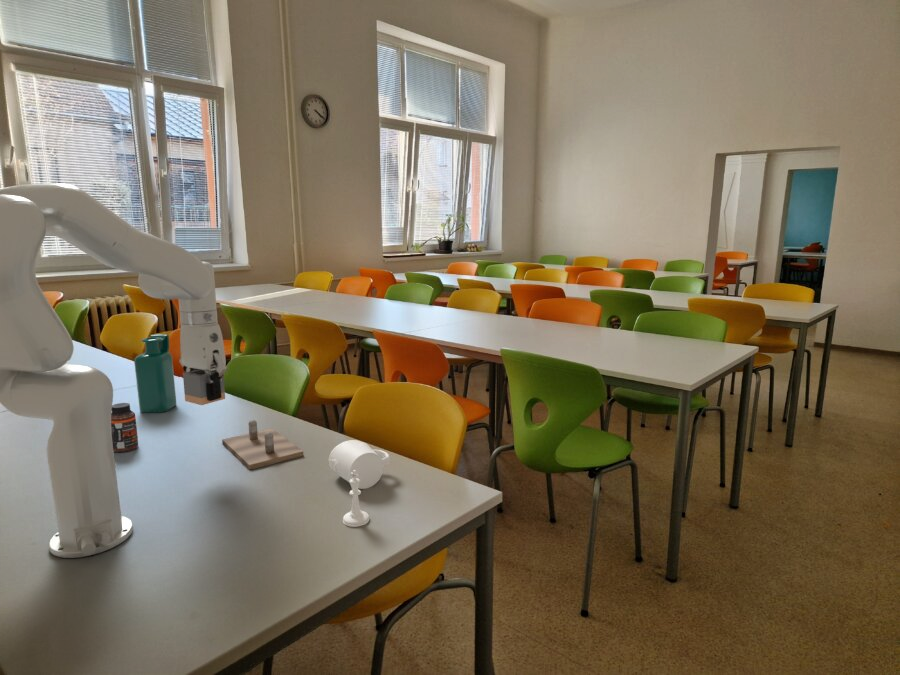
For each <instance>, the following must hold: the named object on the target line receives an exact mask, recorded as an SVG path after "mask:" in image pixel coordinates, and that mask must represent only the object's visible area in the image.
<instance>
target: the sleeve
mask: <svg viewBox="0 0 900 675" xmlns="http://www.w3.org/2000/svg"><path fill="white" fill-rule="evenodd" d="M213 374H214V371H212V372H211V375H213ZM182 379H183V380H182V382H183V390H184V401H185V402H188V403H191V404H195V405H200V406H205V405H208V404H212V403H215V402H219V401H223V400H225V399H226V392H225V391H226V390H225V388H226V387H225V377H224V375H223V377H222V381H220V384H221V398H220V399H216V400H212V401H208V400H207V388H206V383H208V380H207V377H206V374H205V371H203V370H194V371H189V372H185V371H184V372H182Z"/></svg>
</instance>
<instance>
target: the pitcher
mask: <svg viewBox="0 0 900 675" xmlns="http://www.w3.org/2000/svg"><path fill="white" fill-rule="evenodd" d="M140 341H141V342H142V343H144V349H145V351H144V352H143V353H140V354H138V355H137V356H135V358H134V360H133V361H134V371H135V372H134V373H135V381H136V388H137V389H136V390H137V400H138V408H139V411H140V412H141V413H166V412H168V411H169V410H171V409H172V408H175V407H176V406H177V396H176V395H177V394H176V385H175V375H174V365H173V356H172V354H171V352H169V351H170V335H169V334H168V333H165V334H162V333H161V334H157V333H156V334H154V333H153V334H150V337H145V338H142V339H141V340H140Z"/></svg>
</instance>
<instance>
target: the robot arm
mask: <svg viewBox="0 0 900 675" xmlns="http://www.w3.org/2000/svg"><path fill="white" fill-rule="evenodd" d="M45 237H57V238H59V239H62V240H63V241H65V242H67V243H68V244H69V245H72V246H73V247H75V248H77V249H79V251H81V252H83V253H84V254H86V255H89V256H90V257H92V258H93V259H94V260H96V261H97V262H99V263H101V264H103V265H105V266H106V267H108V268H109V267H110V268H113V269H116V270H119V271H124V272H129V273H135V274H138V280H137V283H138V286H139V289H140V290H141V291H142V292H143V294H144V295H147V296H148V297H150V298H153V299H158V300H178V308H179V319H180V320H179V323H180V334H179V339H180V340H179V341H180V342H179V344H180V345H179V346H180V358H179V363H180V365H181V366H182V369H183V372H184V373H185V372H189V371H194V370H203V371H205V374H206V377H207V380H208V383H206V388H207V400H208V401H212V400H216V399H220V398H221V384H220V381H222V377H223V375H224V374H225V373H226V372H227V370H228V369H227V368H228V367H227V365H226V363H227V362H226V351H225V350H226V349H225V343H224V338H223V334H222V330H221V327H220V324H219V323H218V322H219V321H218V310H217V309H218V308H217V297H216V296H217V295H216V294H217V293H216V281H215V270H214V266H213V265H212V263H210V262H208V261H202V260H200V259H199V258H198V257H196V256H195V255H194V254H193V253H191V252H190V251H188V250H187V249H186V248H184V247H182V246H179V245H178V244H175V243H173V242H171V241H168V240H166V239H164V238H160V237H158V236H156V235H153V234H152V233H149V232H146V231H143V230H141V229H138V228H136V227H134V226H133V225H131V224H130V223H128V222H127V221H126V220H124V219H123V218H122V217H120V216H119V215H117V214H116V213H114V211H113V210H111V209H109V208H108V207H107V206H106V205H104V204H103V203H101V202H100V201H99V200H97V199H96V198H94V197H93V196H92V195H90V194H89V193H88V192H86V191H85V190H83V189H81V188H79V186H75V185H72V184H67V183H37V184H36V183H31V184H30V183H29V184H19V185H18V184H17V185H12V186H7V187H0V404H1V405H2V406H3V408H5V409H6V410H7V411H9V412H10V413H12V414H14V415H16V416H19V417H23V418H24V417H25V418H30V419H31V418H32V419H40V420H48V421H53V425H52V430H51V432H50V434H49V437H48V439H47V443H46V458H47V464H48V472H49V478H50V484H51V485H50V486H51V492H52V498H53V505H54V510H55V519H56V525H57V532H56V533H54V535H53V536H52V537H51V539H50V540H49V542H48V547H49V548H48V549H49V552H50V554H52V555H53V556H56V557H58V558H64V559H74V558H75V559H76V558H78V559H79V558H85V557H89V556H93V555H96V554H100V553H103V552H105V551H108V550H110V549H112V548H114V547H117V546H119V545H120V544H122V543H123V542H125V541H126V540H128V538H129V537H130V536H131V535H132V533H133V531H134V530H133V529H134V526H133V522H132V520H131V519H129V517H126V516H122V510H121V505H120V504H121V503H120V495H119V487H118V480H117V479H118V476H117V470H116V461H115V451H113V443H112V434H111V413H112V405H113V402H114V401H113V400H114V387H113V383H112V381H111V379H110V378H109V377H108V375H107V374H105V373H104V372H103V371H101V369H98V368H96V367H93V366H89V365H83V364H76V363H75V364H73V363H69V361H70V360H71V359H72V356H73V354H74V350H75V349H74V343H73V339H72V336H71V334H70V333H69V331H68V328H66V326H65V325H64V323H63V321H62V320H61V318H60V317H59V315H58V313H57V312H56V311H55V309H54V308H53V306H52V305H51V302H50V301H49V300H48V298H47V297H46V295H45V293H44V291H43V290H42V288H41V286H40V284H39V282H38V279H37V276H36V265H37V258H38V256H39V252H40V251H41V248H42V245H43V243H44V240H45ZM212 371H214V374H213V375H211V372H212Z"/></svg>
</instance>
